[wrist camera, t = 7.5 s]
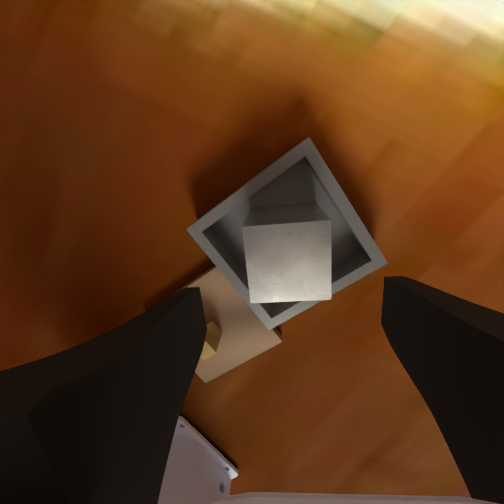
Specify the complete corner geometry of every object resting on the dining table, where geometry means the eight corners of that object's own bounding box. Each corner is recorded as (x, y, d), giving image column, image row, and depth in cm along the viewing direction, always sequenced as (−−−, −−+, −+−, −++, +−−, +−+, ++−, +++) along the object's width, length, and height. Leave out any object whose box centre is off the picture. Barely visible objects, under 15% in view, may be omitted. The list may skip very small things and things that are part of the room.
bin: (373, 249, 19) (387, 263, 17) (269, 310, 22) (268, 330, 19) (304, 138, 17) (309, 136, 15) (196, 219, 20) (186, 229, 17)
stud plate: (281, 335, 22) (283, 364, 19) (207, 376, 25) (198, 408, 21) (221, 260, 21) (212, 280, 17) (146, 311, 23) (126, 337, 20)
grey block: (316, 202, 18) (331, 219, 13) (317, 265, 20) (331, 301, 15) (249, 207, 18) (241, 226, 14) (255, 269, 20) (250, 305, 15)
